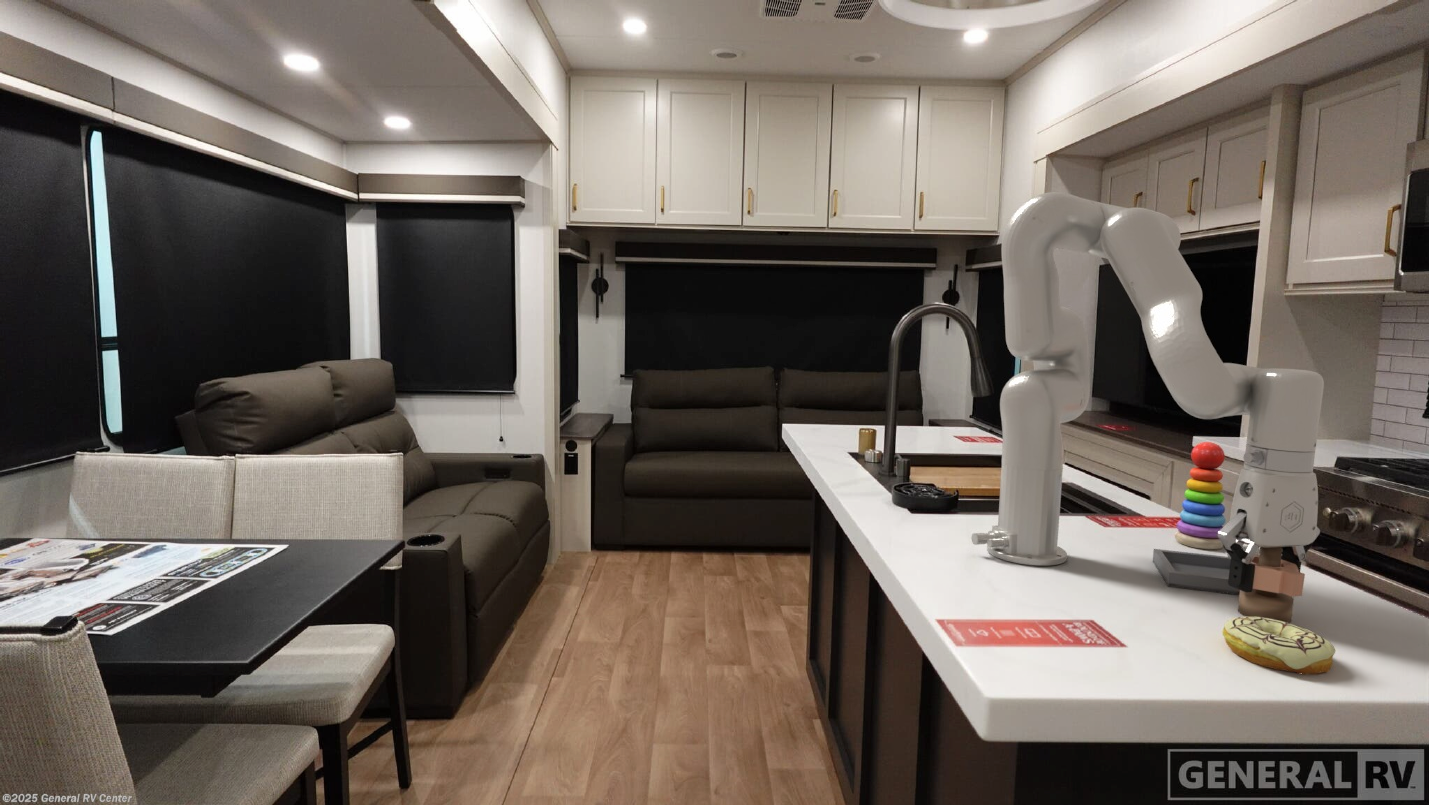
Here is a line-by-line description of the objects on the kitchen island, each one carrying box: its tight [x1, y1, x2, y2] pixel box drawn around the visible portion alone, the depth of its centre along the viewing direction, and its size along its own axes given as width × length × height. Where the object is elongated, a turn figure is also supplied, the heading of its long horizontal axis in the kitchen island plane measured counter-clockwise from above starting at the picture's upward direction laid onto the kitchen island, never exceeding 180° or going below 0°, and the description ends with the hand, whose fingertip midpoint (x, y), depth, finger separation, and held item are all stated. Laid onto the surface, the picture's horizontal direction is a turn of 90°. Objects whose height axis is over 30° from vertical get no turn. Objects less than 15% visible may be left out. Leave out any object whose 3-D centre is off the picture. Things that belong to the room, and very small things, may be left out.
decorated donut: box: [1222, 615, 1336, 675], centre depth 92 cm, size 10×11×4 cm
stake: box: [1237, 547, 1295, 624], centre depth 105 cm, size 6×6×10 cm
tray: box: [1152, 548, 1240, 596], centre depth 120 cm, size 13×13×2 cm
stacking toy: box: [1174, 441, 1227, 550], centre depth 138 cm, size 8×8×19 cm
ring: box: [1251, 553, 1306, 598], centre depth 104 cm, size 7×8×3 cm
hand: (1262, 586), depth 105 cm, fingers closed on ring, 7 cm apart
